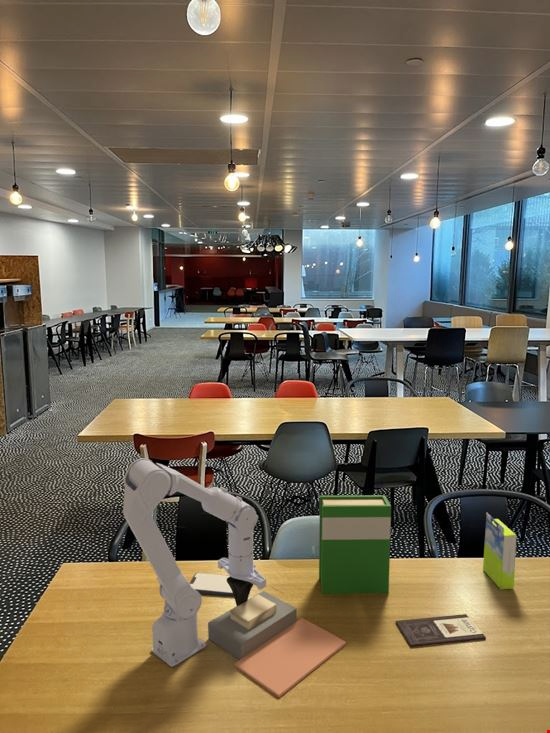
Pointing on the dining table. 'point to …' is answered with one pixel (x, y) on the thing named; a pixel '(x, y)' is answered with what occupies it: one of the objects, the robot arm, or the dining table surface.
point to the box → (499, 553)
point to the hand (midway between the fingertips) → (241, 605)
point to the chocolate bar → (439, 630)
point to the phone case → (211, 584)
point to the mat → (289, 656)
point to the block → (244, 640)
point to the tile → (253, 611)
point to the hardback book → (354, 544)
